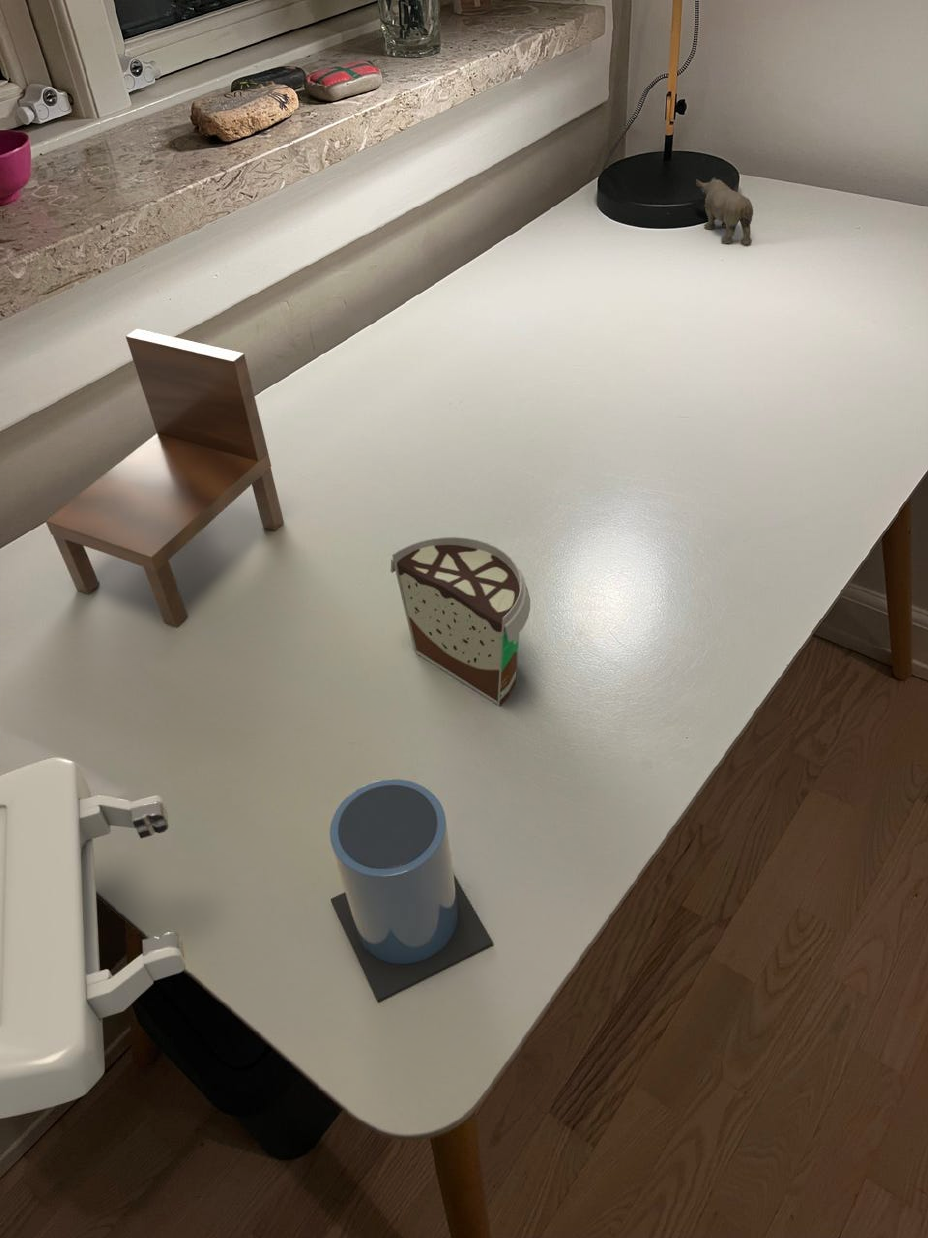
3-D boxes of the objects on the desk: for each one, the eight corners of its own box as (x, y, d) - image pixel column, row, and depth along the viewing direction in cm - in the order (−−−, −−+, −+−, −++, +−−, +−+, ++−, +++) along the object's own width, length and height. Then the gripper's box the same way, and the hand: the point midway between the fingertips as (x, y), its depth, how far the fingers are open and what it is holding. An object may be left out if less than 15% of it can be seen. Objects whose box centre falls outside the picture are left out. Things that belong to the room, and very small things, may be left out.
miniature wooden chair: (177, 628, 89) (113, 454, 76) (75, 590, 93) (0, 420, 81) (285, 522, 99) (244, 353, 86) (188, 492, 103) (136, 328, 91)
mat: (378, 1003, 63) (377, 1000, 63) (331, 901, 68) (330, 898, 68) (493, 945, 65) (493, 942, 65) (439, 851, 71) (438, 848, 70)
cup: (339, 952, 65) (312, 863, 58) (373, 862, 70) (352, 769, 63) (442, 974, 64) (426, 886, 57) (470, 881, 68) (459, 788, 61)
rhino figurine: (707, 206, 145) (711, 162, 141) (757, 243, 135) (763, 197, 131) (681, 212, 144) (684, 168, 140) (729, 250, 134) (734, 204, 130)
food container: (564, 670, 82) (564, 576, 75) (514, 716, 79) (508, 621, 72) (452, 604, 88) (443, 512, 82) (401, 644, 85) (387, 551, 79)
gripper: (-49, 835, 65) (170, 773, 67) (-73, 1165, 50) (208, 1072, 53) (-94, 772, 60) (143, 709, 63) (-134, 1114, 46) (175, 1015, 48)
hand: (173, 877), depth 58 cm, fingers open, 8 cm apart
